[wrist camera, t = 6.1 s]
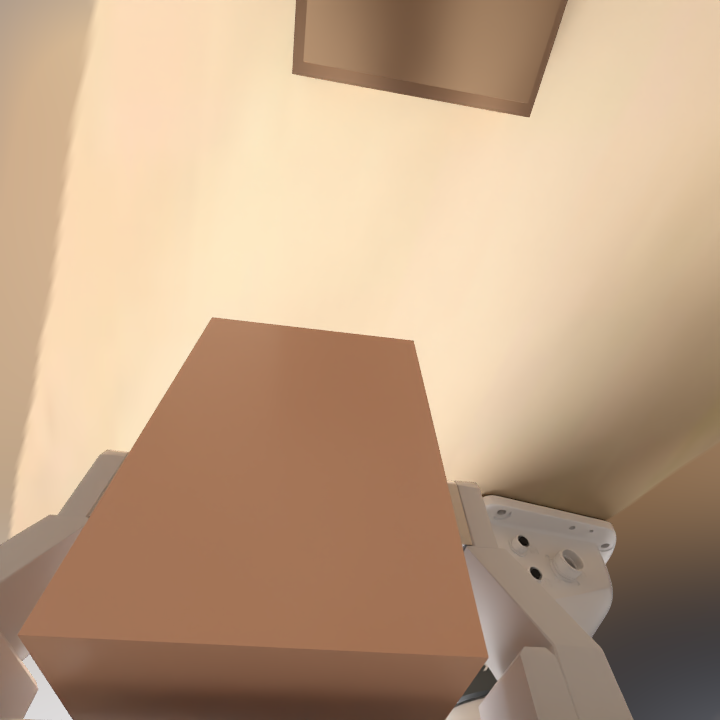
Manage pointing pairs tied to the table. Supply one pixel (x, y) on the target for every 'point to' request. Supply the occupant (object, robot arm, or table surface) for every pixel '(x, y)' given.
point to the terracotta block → (270, 547)
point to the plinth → (431, 47)
